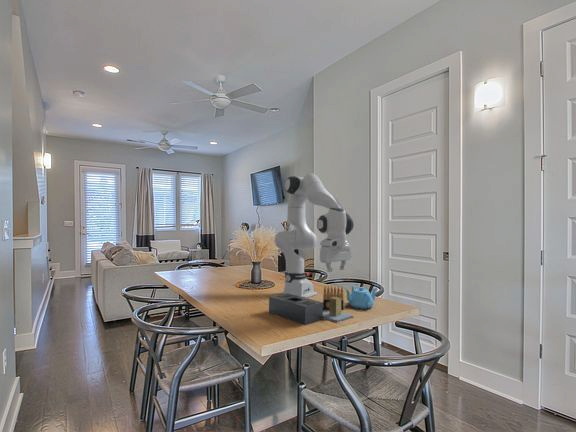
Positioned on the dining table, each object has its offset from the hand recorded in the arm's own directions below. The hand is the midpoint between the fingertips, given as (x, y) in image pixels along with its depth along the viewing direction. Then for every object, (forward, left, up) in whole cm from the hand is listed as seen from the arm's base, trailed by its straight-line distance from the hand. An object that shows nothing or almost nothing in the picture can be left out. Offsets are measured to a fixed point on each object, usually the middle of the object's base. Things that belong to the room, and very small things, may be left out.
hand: (336, 270), depth 154 cm
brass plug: (0, 0, -21) cm, 21 cm away
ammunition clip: (-10, -9, -22) cm, 26 cm away
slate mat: (0, 0, -22) cm, 22 cm away
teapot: (-27, -4, -22) cm, 35 cm away
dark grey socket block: (+14, -13, -22) cm, 29 cm away
